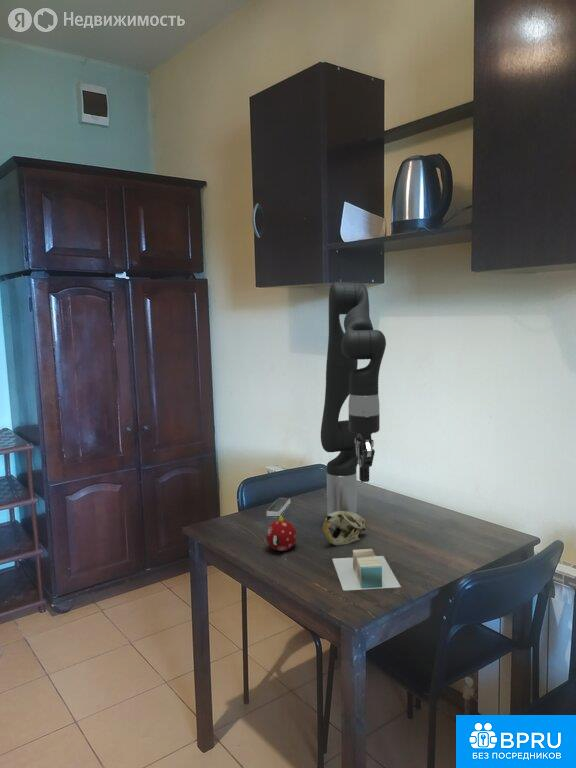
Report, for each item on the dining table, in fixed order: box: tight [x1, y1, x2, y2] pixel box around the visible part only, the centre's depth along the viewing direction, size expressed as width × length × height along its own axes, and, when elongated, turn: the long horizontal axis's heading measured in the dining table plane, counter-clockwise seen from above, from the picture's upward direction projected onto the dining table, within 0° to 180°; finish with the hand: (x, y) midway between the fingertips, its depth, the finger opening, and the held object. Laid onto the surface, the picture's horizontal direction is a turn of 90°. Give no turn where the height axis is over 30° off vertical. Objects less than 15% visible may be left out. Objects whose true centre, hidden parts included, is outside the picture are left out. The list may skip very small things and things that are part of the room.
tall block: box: [352, 548, 382, 588], centre depth 143 cm, size 5×5×11 cm
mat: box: [331, 555, 402, 592], centre depth 146 cm, size 18×14×1 cm
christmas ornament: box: [265, 515, 298, 552], centre depth 162 cm, size 9×9×10 cm
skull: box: [322, 511, 367, 546], centre depth 166 cm, size 10×16×10 cm, turn 134°
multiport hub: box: [266, 497, 291, 517], centre depth 196 cm, size 4×14×2 cm, turn 165°
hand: (364, 480), depth 142 cm, fingers closed
